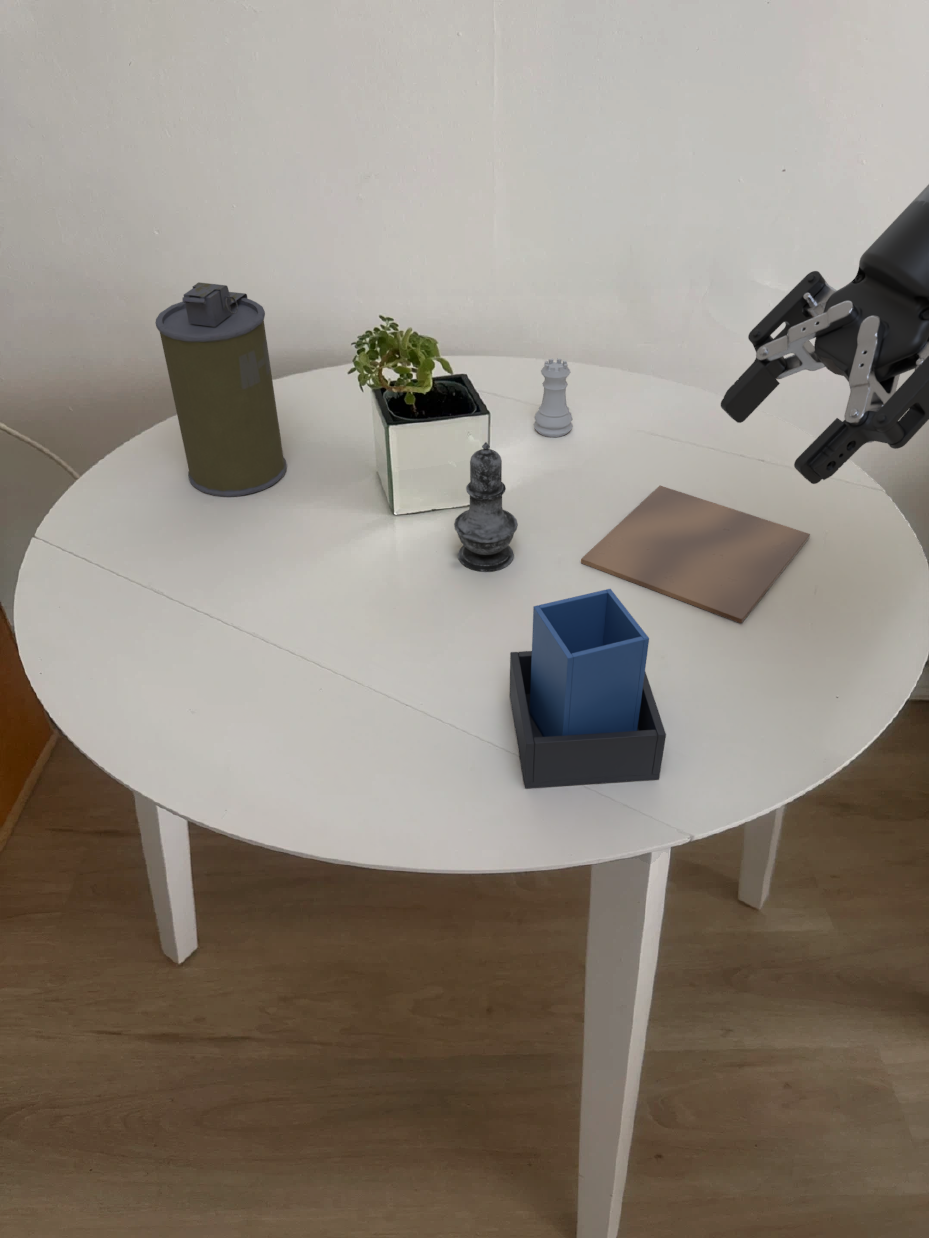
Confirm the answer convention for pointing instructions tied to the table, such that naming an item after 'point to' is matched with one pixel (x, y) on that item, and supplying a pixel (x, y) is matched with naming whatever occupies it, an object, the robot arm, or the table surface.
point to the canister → (223, 390)
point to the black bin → (583, 742)
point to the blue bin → (586, 666)
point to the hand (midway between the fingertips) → (764, 443)
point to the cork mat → (698, 552)
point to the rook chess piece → (554, 401)
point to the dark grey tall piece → (485, 516)
